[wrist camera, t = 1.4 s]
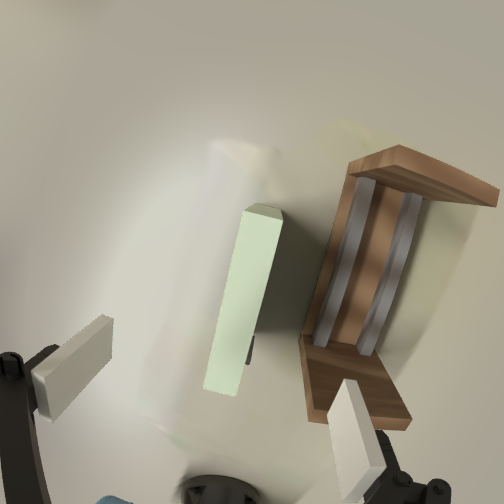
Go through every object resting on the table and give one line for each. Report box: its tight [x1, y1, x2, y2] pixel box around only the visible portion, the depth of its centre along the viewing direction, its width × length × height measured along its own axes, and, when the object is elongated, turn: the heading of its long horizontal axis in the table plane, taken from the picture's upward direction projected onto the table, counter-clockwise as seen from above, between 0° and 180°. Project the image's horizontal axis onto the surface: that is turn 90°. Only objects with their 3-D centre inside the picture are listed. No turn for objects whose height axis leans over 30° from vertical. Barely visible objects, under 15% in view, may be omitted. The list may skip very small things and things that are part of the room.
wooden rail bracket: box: [299, 145, 499, 431], centre depth 29 cm, size 23×10×16 cm, turn 166°
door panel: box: [203, 203, 283, 397], centre depth 32 cm, size 16×4×14 cm, turn 166°
